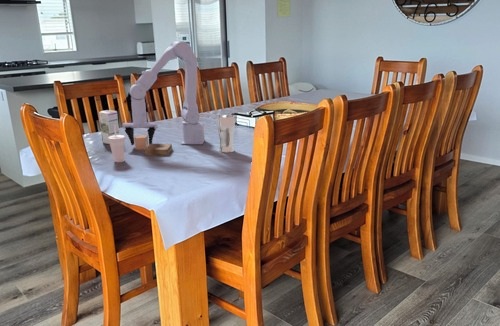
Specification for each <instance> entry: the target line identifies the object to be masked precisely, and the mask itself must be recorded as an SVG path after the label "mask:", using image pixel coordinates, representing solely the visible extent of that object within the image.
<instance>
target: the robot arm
mask: <svg viewBox="0 0 500 326" xmlns="http://www.w3.org/2000/svg"><path fill="white" fill-rule="evenodd" d="M175 59H179V60H181V61H182V62H183V63H184V64H185V70H184V72H185V73H184V77H185V78H184V101H183V102H182V109H181V111H180V116H181V118H182V119H183V120H182V122H181V123H182V124H181V125H182V141H181V143H180V144H181V145H203V144H204V142H205V125H204V122H199V121H200V119H201V115H200V112H199V107H198V104H197V92H198V91H197V88H198V58H197V57H196V54H195V53H194V50H193V48H192V46H191V45H189V43H187V42H186V41H180V40H174V41H172V42H171V44H170V45H169V46H168V47H166V49H165V50H164V51H163V53H162V54H161V55H160V56H159V58H158V59H157V60H156V61H155V63H154V64H153V65H152V67H151V68H150V69H146V70H143V71H141V75H140V76H139V78H138V79H137V80H135V81H134V84H132V85H131V86H130V87H129V90H128V93H129V95H130V100H131V102H130V103H131V105H130V106H131V115H132V116H131V117H132V122H124V123H122V129H124V132H125V134H126V135H127V137H128V139H129V142H130V144H131V146H135V137H134V136H135V135H134V131H135V129H147V134H148V145H150V144H153V138H154V135H155V132H156V129H158V128H159V127H158V125H159V124H158V122H148V121H147V120H148V119H147V110H146V109H147V106H146V102H145V101H146V99H145V97H146V95H147V91H149V90H150V89H151V87H152V86H153V84H154V83H155V82H156V81H157V80H158V74H159V73H160V71H162V69H163V68H164V67H165V66H166V65H167V64H168V63H169V61H173V60H175Z"/></svg>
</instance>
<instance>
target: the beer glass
mask: <svg viewBox="0 0 500 326" xmlns="http://www.w3.org/2000/svg"><path fill="white" fill-rule="evenodd" d="M235 127H236V126H235V115H234V114H231V113H230V114H229V113H227V114H226V113H223V114H218V115H217V130H218V131H217V132H218V137H219V140H220V141H219V142H220V143H219V144H220V145H219V152H220V153H222V154H230V153H234V152H235V148H234V137H235V136H234V135H235V132H236V131H235V130H236V129H235Z"/></svg>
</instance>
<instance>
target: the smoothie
mask: <svg viewBox="0 0 500 326" xmlns="http://www.w3.org/2000/svg"><path fill="white" fill-rule="evenodd" d="M114 131H115V135H113V136H109V137H108V140H109V142H110V145H109V146H110V150H111V154H112V158H113V162H114V163H122V162H123V163H124V162H125V142H126V141H125V140H126V135H123V134H119V135H116V126H115V125H114Z"/></svg>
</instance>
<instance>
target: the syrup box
mask: <svg viewBox="0 0 500 326" xmlns="http://www.w3.org/2000/svg"><path fill="white" fill-rule="evenodd" d="M98 114H99V124H100V131H101V140H102V144H105V145H108V146H110V142H109V140H108V137H109V136H113V135H115V131H114V125H115V126H116V135H120V128H119V119H118V118H119V117H118V116H119V115H118V111H117V110H110V109H106V110H104V109H103V110H101V111H99V112H98Z"/></svg>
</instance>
